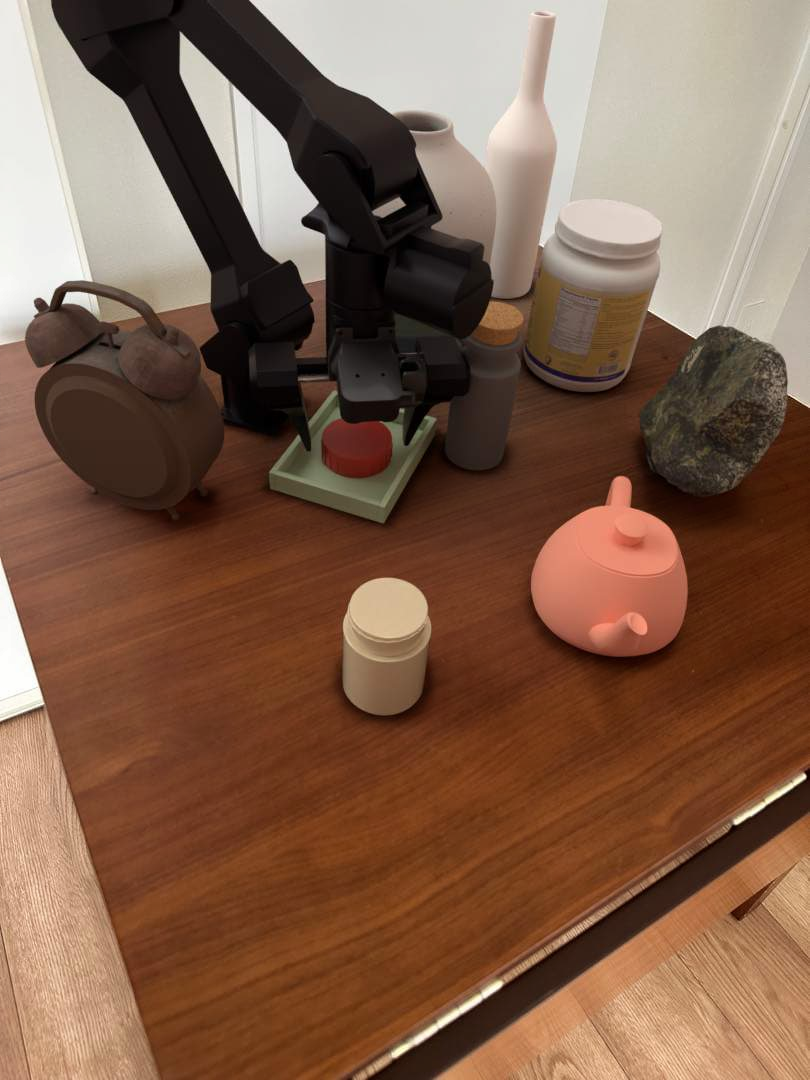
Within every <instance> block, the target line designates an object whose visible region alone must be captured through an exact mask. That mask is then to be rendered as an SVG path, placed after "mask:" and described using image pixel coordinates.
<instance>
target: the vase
mask: <svg viewBox="0 0 810 1080" xmlns="http://www.w3.org/2000/svg"><path fill="white" fill-rule="evenodd" d="M391 114H392V115H393V116H395V117H396V118H398V119H399V120H400V121H401V122H402V123H404V124H405V125H406V127H407V128H408V129H409V131H410V132H411V134H412V135H413V138H414V140H415V142H416V148H415V151H416V156H417V158H418V160H419V163H420V165H421V167H422V170H423V172H424V174H425V176H426V179H427V181H428V183H429V185H430V188H431V190H432V192H433V194H434V197H435V199H436V201H437V204H438V206H439V208H440V210H441V213H442V216H443V218H442V220H441V221H439V222H438V223H436V224H434V225H432V226H431V229H434V230H437V231H440V232H443V233H445V234H448V235H451V236H454V237H457V238H461V239H470V240H474V241H476V242H479V243H482V244H483V245H484V255H483V261H486V262H488V264H489V266H490V262H491V256H492V249H493V242H494V235H495V227H496V214H497V210H496V198H495V193H494V189H493V185H492V182H491V179H490V177H489V175H488V173H487V171H486V170H485V168H484V165H483V164H482V163H481V162H480V161H479V159H478V158H476V156H475V155H474V154H473V153H471V151H470V150H468V149H467V148H466V147H465V146H464V145H463V144H462V143H461V142H460V141H459V140H458V139H457V138H456V137H455V136H456V135H455V132H454V130H455V129H454V122H453V120H451V119H450V118H449V117H447V116H445V115H443V114H440V113H437V112H433V111H427V110H418V109H417V110H416V109H414V110H413V109H411V110H410V109H409V110H408V109H407V110H400V111H395V112H392V113H391ZM404 206H406V205H405V203H404V202H403V201H402V200H401V199H400V197H399V198H397V199H395V200H393V201H391V202H389V203H387V204H385V205H383V206H381V207H379V208H377V209H375V210H373V211H372V212H373V214H374V215H377V216H380V217H382V218H383V217H385V216H387V215H389V214H391V213H392V212H394V211H396V210H398V209H400V208H402V207H404ZM395 321H396V324H395V330H396V335H395V339H396V342H397V345H398V348H399V351H400V353H415V341H416V339H417V338H418V337H446V336H450V335H448V334H446V333H443V332H441V331H438V330H436V329H433V328H431V327H428V326H426V325H423V324H421V323H418V322H416V321H414V320H411V319H409V318H406V317H404V316H401V315H399V314H397V313H396V314H395ZM457 340H458V341H459V342H460V343H461V346H462V348H463V347H465V345H464V342H463V339H458V338H457Z"/></svg>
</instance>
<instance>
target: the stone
mask: <svg viewBox="0 0 810 1080" xmlns="http://www.w3.org/2000/svg"><path fill="white" fill-rule="evenodd" d="M788 379H789V378H788V370H787V364H786V361H785V358H784V356H782V354H781V353H780V351H779V350H777V348H776V347H775V346H774V345H773V344H771V343H770V342H765V341H762V340H760V339H758V338H757V337H752V336H751V335H749V334H748V333H745V332H743V331H741V330H739V329H737V328H735V327H734V326H723V325H720V324H719V325H716V326H712V327H709V328H707V329H706V330H705V331H704V332H702V333H701V334H700V335H699V336H697V337H696V339H694V341H693V342H692V343H691V345H690V346H689V348H688V349H687V351H686V353H685V354H684V356H683V358H682V360H681V361H680V363H679V365H678V366H677V368H676V370H675V372H674V373H673V374H672V375H671V376H670V378H669V379H668V380H667V382H666V384H665V385H664V386H662V388H661V389H660V390H659V391H658V392H657V393H655V395H654V396H653V397H652V398H651V399H649V400H648V402H646V403H645V404H644V405H643V406H642V408H641V410H640V412H639V413H637V417H638V423H639V429H640V431H641V434H642V436H643V439H644V443H645V446H646V447H645V448H646V460H647V462H648V464H649V468H650V470H651V471H652V472H653V473H655V474H657V475H660V476H662V477H663V478H665V479H666V481H667V482H668V483H669V484H671V485H672V486H674V487H677V488H678V489H679V490H680V491H682V492H684V493H686V494H690V495H691V496H693V497H698V498H699V497H700V498H705V497H706V498H707V497H713V496H716V495H719V494H724V493H727V492H729V491H731V490H732V489H734V488H736V487H738V485H739V484H740V483H741V482H742V480H743V479H744V478H745V477H746V476H747V475H748V474H749V473H751V472H752V471H753V470H754V469H755V468H756V467H757V466H758V465H759V463H760V462H761V461H762V459H763V458H764V456H765V454H766V453H767V451H768V449H769V448H770V447H771V445H772V444H773V443H774V441H775V440H776V438H777V437H778V436H779V434H780V432H781V430H782V428H783V424H784V422H785V417H786V413H787V407H788V402H789V398H788V385H789V380H788Z"/></svg>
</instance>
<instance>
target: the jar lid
mask: <svg viewBox="0 0 810 1080" xmlns="http://www.w3.org/2000/svg"><path fill="white" fill-rule="evenodd" d="M392 448H393V443H392V435H391V432H390V430H389V429H388V428H387V427H386V426H385V425H384V424H383V423H381V422H379V421H373V422H361V423H359V424H350V423H347V422H345V421H344V420H343V419H342V418H340V419H337V420H335V421H333V422H331V423H330V424H329V425H328V426H327V427H326V428H325V429H324V431H323V433H322V439H321V453H322V459H323V461H324V464H325V465H326V466H327V467H328V468H329V469H330V470H331V471H333V472H334V473H336V474H338V475H341V476H344V477H349V478H366V477H371V476H374V475H377V474H379V473H381V472H382V471H383V470H384V469H386V468H387V466H388V465H389V463H390V462H391V457H392Z"/></svg>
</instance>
